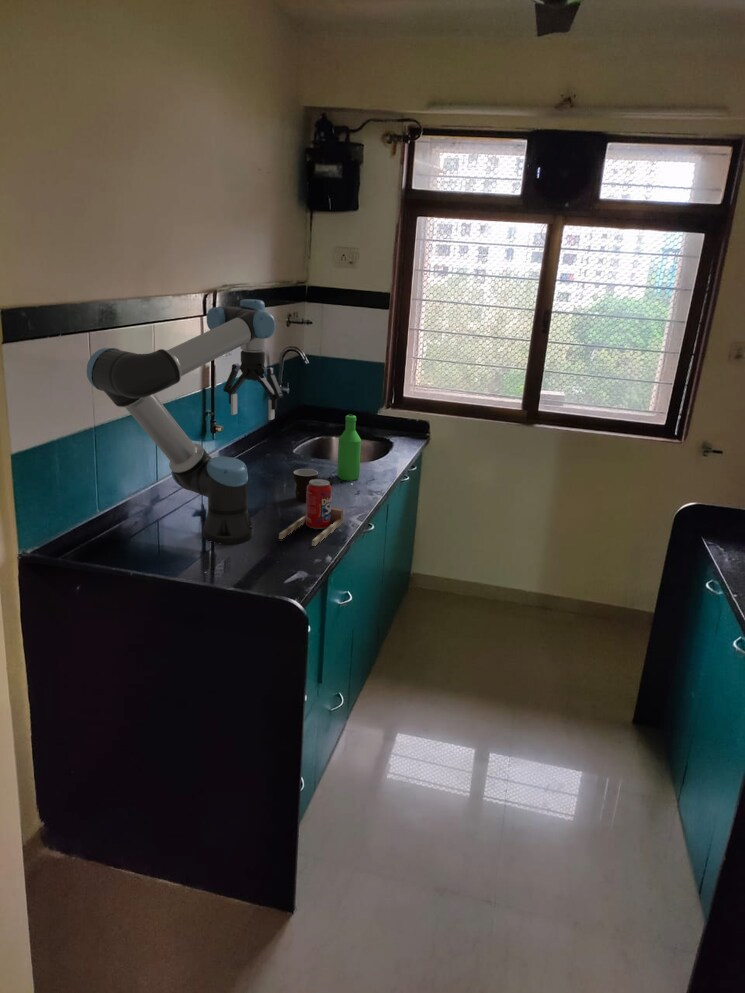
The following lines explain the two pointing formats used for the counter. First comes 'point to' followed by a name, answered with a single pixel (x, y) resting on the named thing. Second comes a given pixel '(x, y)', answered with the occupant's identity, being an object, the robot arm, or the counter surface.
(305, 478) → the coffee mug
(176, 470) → the robot arm
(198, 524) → the counter surface
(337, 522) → the guide track
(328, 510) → the soda can
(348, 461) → the bottle
